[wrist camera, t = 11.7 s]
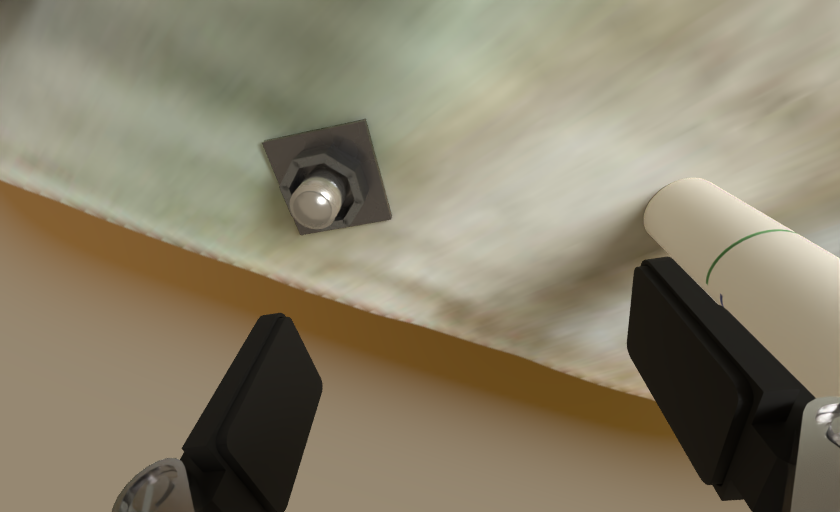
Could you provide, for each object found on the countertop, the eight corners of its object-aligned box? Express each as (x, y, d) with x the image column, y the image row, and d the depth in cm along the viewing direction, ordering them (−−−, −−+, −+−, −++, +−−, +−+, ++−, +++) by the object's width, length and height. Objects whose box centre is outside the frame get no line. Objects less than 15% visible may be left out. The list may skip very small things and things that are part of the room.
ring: (281, 154, 36) (269, 164, 34) (353, 139, 35) (347, 148, 33) (308, 221, 40) (299, 235, 37) (374, 209, 39) (370, 222, 36)
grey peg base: (265, 140, 36) (231, 164, 30) (365, 119, 35) (351, 139, 29) (302, 231, 42) (280, 267, 35) (392, 215, 40) (384, 250, 34)
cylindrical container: (652, 252, 41) (882, 498, 20) (635, 199, 38) (885, 423, 17) (724, 223, 39) (1066, 462, 18) (712, 164, 36) (1107, 369, 15)
